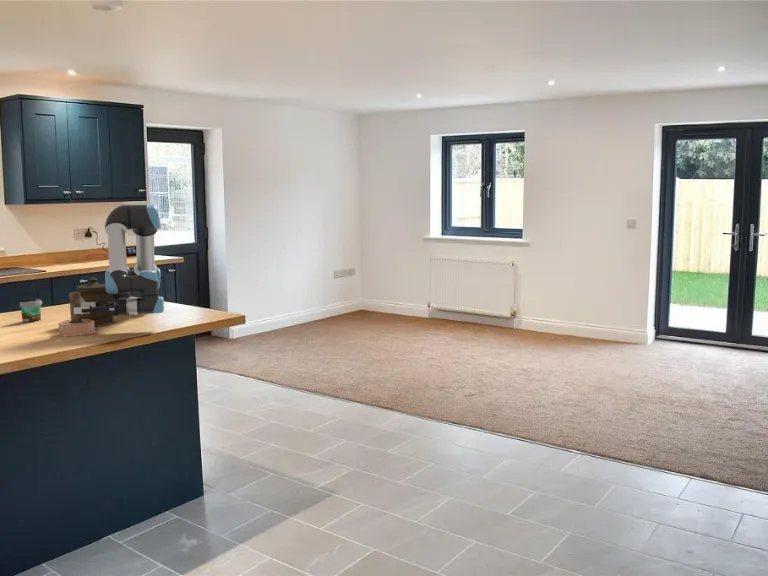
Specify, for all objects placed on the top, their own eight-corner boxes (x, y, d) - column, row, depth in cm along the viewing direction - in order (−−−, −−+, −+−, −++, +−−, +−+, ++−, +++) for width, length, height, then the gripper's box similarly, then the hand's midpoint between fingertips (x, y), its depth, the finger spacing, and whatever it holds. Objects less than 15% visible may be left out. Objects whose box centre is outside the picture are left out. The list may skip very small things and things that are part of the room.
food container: (32, 323, 337) (30, 302, 336) (20, 323, 339) (19, 302, 337) (49, 319, 349) (47, 298, 348) (38, 318, 351) (36, 298, 349)
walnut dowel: (80, 331, 318) (77, 291, 315) (84, 332, 315) (81, 292, 312) (70, 332, 315) (67, 292, 312) (74, 334, 312) (71, 293, 309)
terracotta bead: (86, 328, 324) (86, 317, 324) (98, 332, 314) (97, 321, 314) (56, 332, 315) (55, 321, 314) (67, 337, 305) (66, 325, 305)
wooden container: (79, 321, 342) (76, 276, 338) (112, 319, 347) (110, 275, 344) (78, 327, 328) (75, 280, 325) (113, 325, 333) (110, 278, 330)
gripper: (124, 319, 306) (71, 321, 302) (131, 310, 330) (83, 312, 326) (123, 302, 305) (70, 304, 301) (130, 294, 329) (81, 295, 325)
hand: (76, 308), depth 313 cm, fingers open, 13 cm apart
